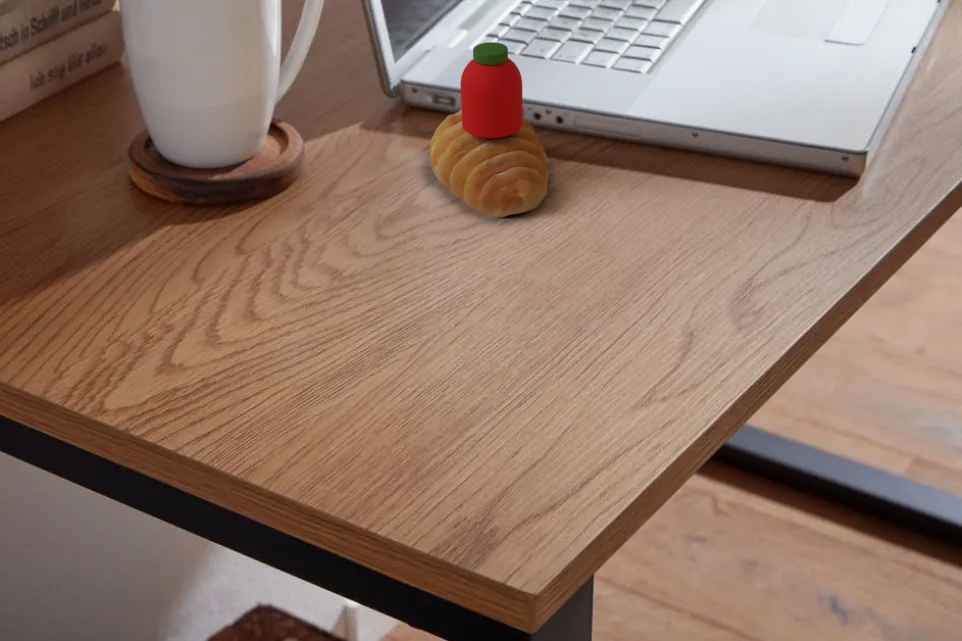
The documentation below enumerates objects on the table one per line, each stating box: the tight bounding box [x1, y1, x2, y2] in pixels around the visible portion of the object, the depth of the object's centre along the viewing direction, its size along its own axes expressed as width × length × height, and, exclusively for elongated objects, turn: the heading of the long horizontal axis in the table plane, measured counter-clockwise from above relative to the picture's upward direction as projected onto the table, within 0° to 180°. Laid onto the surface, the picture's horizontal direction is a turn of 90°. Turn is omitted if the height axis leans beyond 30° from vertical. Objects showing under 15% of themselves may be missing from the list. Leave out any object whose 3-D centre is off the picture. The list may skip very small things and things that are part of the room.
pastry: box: [428, 108, 549, 219], centre depth 80 cm, size 9×7×4 cm
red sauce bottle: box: [459, 41, 524, 138], centre depth 78 cm, size 4×4×5 cm
